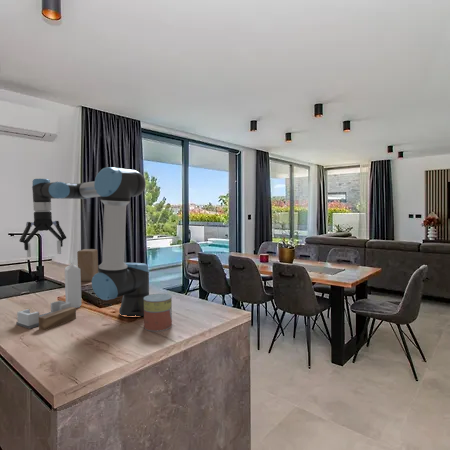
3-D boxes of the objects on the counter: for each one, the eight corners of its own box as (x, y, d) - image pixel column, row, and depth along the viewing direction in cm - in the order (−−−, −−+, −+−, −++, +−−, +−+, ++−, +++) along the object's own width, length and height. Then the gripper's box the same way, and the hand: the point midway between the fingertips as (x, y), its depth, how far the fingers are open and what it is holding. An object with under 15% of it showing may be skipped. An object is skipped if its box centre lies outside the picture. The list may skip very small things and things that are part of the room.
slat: (76, 318, 146) (75, 307, 145) (45, 330, 132) (44, 318, 132) (70, 317, 147) (69, 306, 147) (39, 329, 134) (38, 317, 133)
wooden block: (92, 281, 216) (91, 251, 215) (77, 281, 216) (76, 251, 215) (98, 278, 226) (97, 248, 225) (84, 278, 226) (83, 248, 225)
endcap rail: (72, 315, 150) (72, 303, 149) (30, 328, 133) (29, 315, 133) (58, 311, 155) (58, 300, 154) (16, 324, 138) (15, 311, 138)
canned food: (173, 329, 132) (173, 299, 131) (144, 332, 129) (144, 302, 128) (170, 320, 143) (169, 292, 142) (143, 323, 140) (142, 294, 139)
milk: (68, 309, 158) (66, 263, 157) (65, 306, 163) (63, 261, 162) (82, 306, 162) (80, 262, 161) (78, 303, 167) (77, 260, 165)
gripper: (66, 210, 171) (67, 251, 172) (10, 211, 152) (12, 257, 154) (72, 210, 166) (74, 253, 167) (15, 211, 147) (17, 259, 149)
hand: (44, 255), depth 160 cm, fingers open, 13 cm apart
